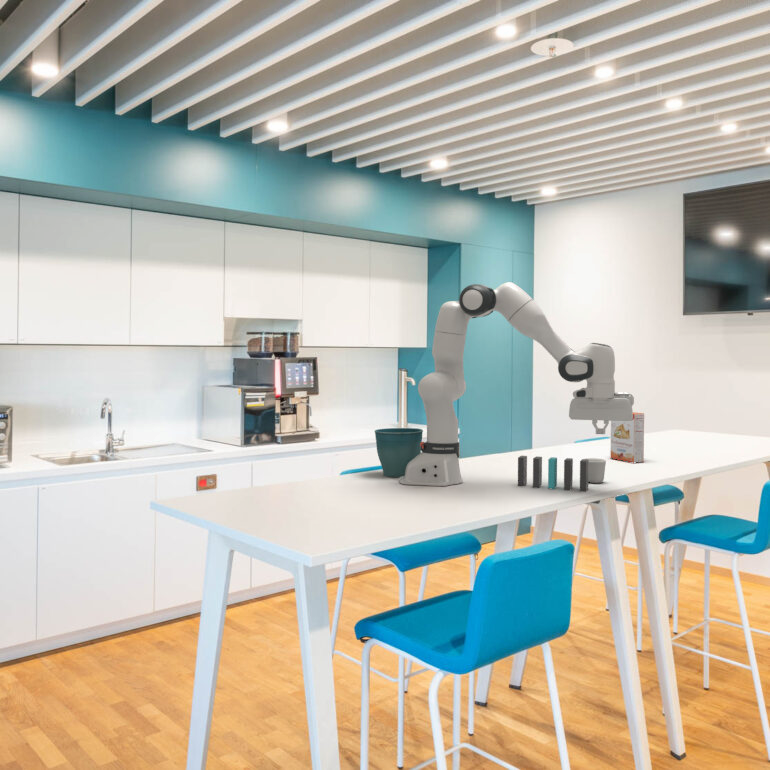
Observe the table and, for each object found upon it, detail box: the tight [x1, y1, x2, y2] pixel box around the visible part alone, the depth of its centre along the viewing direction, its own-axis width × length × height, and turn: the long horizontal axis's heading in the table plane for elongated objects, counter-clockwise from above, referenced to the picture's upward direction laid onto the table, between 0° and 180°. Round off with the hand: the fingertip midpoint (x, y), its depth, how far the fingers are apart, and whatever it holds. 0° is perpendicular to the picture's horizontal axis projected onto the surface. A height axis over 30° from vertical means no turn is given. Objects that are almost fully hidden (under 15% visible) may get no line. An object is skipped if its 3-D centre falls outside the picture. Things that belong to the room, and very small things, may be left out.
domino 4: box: [579, 458, 589, 492], centre depth 247 cm, size 2×5×10 cm, turn 157°
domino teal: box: [547, 456, 558, 490], centre depth 251 cm, size 2×5×10 cm, turn 157°
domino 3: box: [563, 457, 574, 491], centre depth 249 cm, size 2×5×10 cm, turn 157°
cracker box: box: [610, 411, 645, 464], centre depth 314 cm, size 14×6×21 cm, turn 25°
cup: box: [586, 457, 607, 484], centre depth 263 cm, size 11×8×8 cm
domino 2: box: [532, 456, 543, 489], centre depth 254 cm, size 2×5×10 cm, turn 157°
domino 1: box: [517, 455, 528, 487], centre depth 256 cm, size 2×5×10 cm, turn 157°
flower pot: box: [374, 427, 424, 478], centre depth 276 cm, size 18×18×17 cm
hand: (600, 434), depth 245 cm, fingers closed
